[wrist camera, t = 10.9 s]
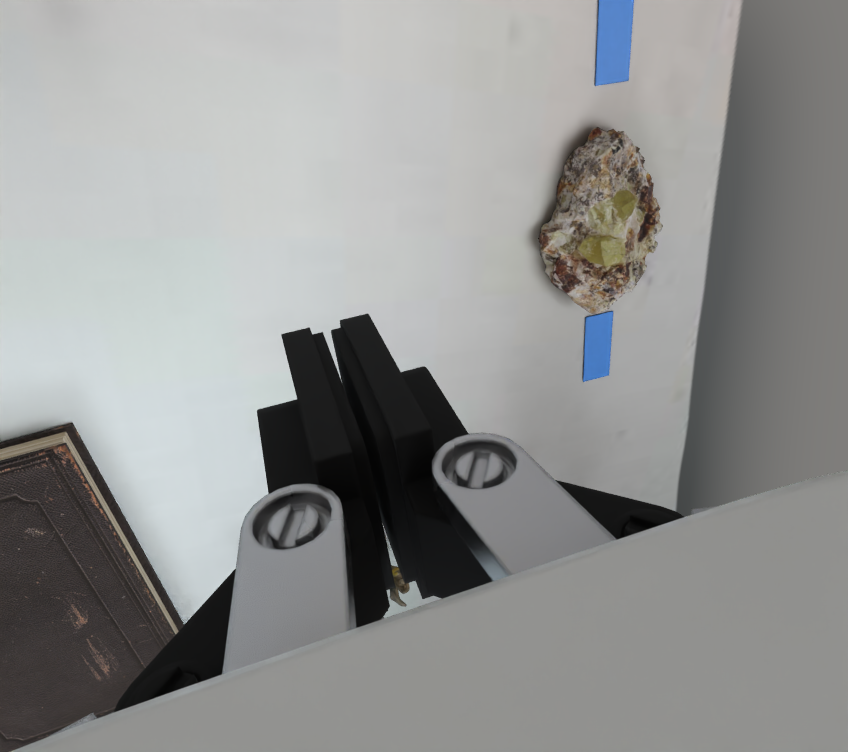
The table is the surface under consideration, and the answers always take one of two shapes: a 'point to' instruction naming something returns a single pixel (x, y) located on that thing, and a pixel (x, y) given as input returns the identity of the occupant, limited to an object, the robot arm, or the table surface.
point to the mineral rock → (601, 222)
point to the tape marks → (609, 69)
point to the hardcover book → (69, 591)
